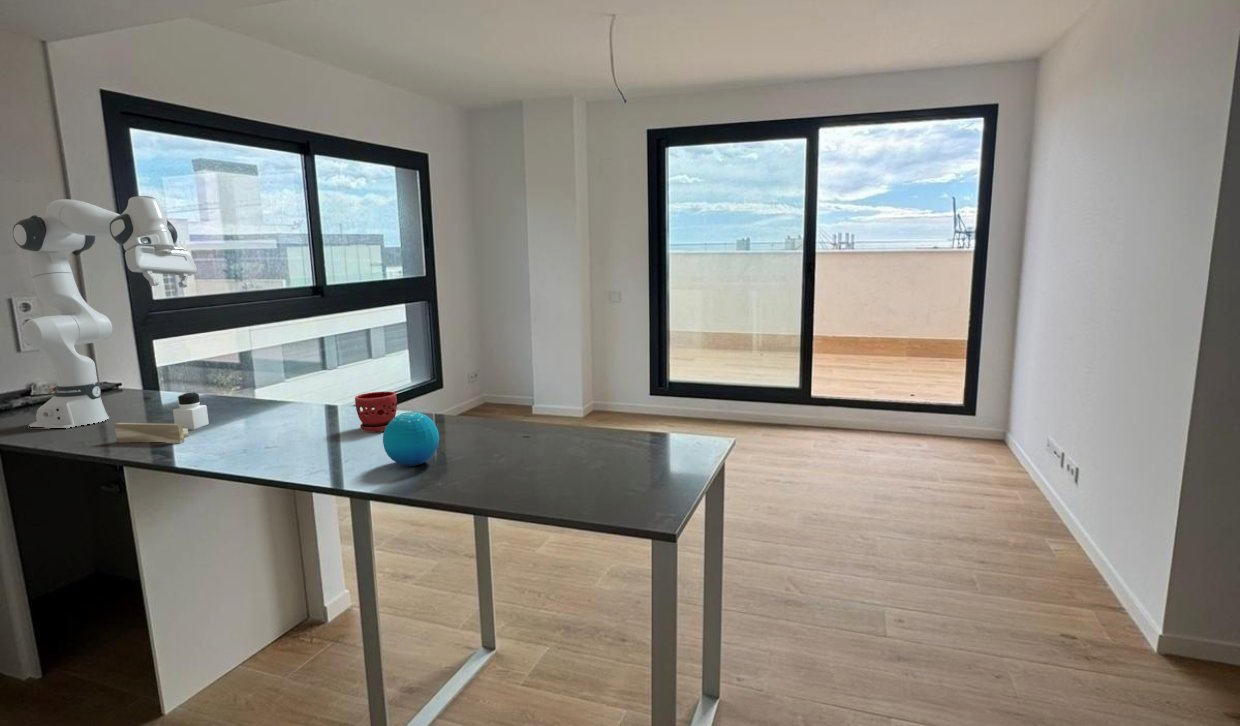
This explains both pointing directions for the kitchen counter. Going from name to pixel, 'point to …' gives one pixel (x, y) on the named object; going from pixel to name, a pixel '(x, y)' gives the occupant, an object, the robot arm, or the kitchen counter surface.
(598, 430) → the kitchen counter surface
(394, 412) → the plant pot
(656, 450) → the kitchen counter surface
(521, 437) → the kitchen counter surface
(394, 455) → the decorative orb
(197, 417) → the medicine bottle
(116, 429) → the wooden bay
